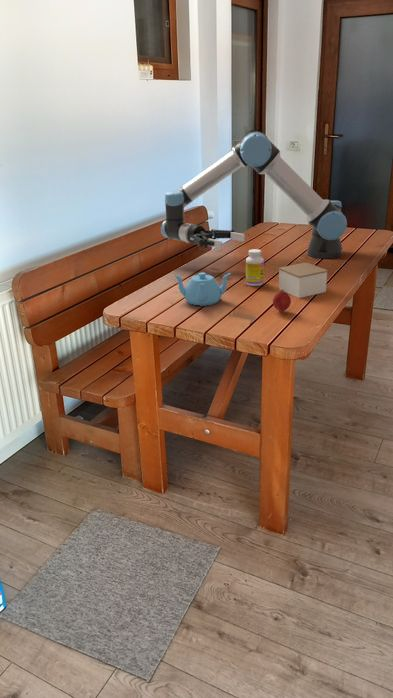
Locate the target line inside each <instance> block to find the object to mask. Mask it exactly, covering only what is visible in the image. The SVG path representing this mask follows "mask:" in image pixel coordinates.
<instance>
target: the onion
mask: <svg viewBox="0 0 393 698" xmlns="http://www.w3.org/2000/svg"><path fill="white" fill-rule="evenodd" d="M291 302H292V300H291V297H290V294H289V293H286V292H284V290H283V289H281V290H280V289H279V291H278V292H277V293H275V294H274V296H273V298H272V305H273V306H274V308H275V309H276V311H278V312H279V313H284V312H285V311H286V310H287V309H289V308H290V306H291Z"/></svg>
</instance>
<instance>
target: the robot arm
mask: <svg viewBox="0 0 393 698" xmlns="http://www.w3.org/2000/svg"><path fill="white" fill-rule="evenodd" d="M247 166H250V167H251V168H252V169H253V170H255V172H256V173H257V174H259V175H265V176H266V177H267V178H268V179H269V180H270V181H271V182H273V184H274V185H275V186H276V187H278V189H279V190H280V191H281V192H282V193H284V195H285V196H286V197H288V198H289V199H290V200H291V202H293V204H295V205H296V206H297V207H298V208H299V210H300V211H302V212H303V213H304V214H305V215H306V221H307V223H308V224H309V225H311V227H312V228H311V238H310V241H309V243H308V246H307V248H306V255H307V256H308V257H311V258H315V259H335V258H338V257H339V258H340V257H341V256H343V247H342V243H341V239H340V238H341V237H342V236H343V235H344V234H345V232H346V231H347V228H348V227H347V226H348V223H347V222H348V221H347V217H346V216H345V214H344V213H343V212H342V209H343V208H342V206H343V205H342V202H341V201H340V200H330V199H323V198H322V197H321V196H320V195H319V194H318V193H317V192H316V191H315V190H314V189H313V188H312V187H311V186H310V185H309V184H308V183H307V182H306V181H305V180H304V179H303V178H302V177H301V176H300V175H299V174H298V173H297V172H296V171H295V169H293V168H292V167H291V166H290V165H289V164H288V163H287V161H285V160H284V159H283V157H281V150H280V149H279V148H278V147H277V146H276V145H275V144H274V143H273V142H272V141H271V140H270V139H269V138H268V136H267V135H266V134H265V133H263V132H261V131H258V130H253V131H250V132H248V133H247V134H245V136H243V138H241V139H240V141H238V142H237V143H236V144H235V145H234V146H232V149H231V151H229V152H228V153H227V154H226V155H223V156H222V157H221V158H220V159H218V160H217V161H215V162H214V163H212V165H210V166H209V167H207V168H205V169H204V170H203V171H201V172H200V173H199V174H197V175H196V176H194V178H192V179H191V180H190V181H188V182H187V183H185V184H184V185H182V186H181V187H179V188H178V189H177V190H169V191H167V192H166V193H165V195H164V196H165V197H164V202H165V203H164V205H165V220H163V222H162V223H161V227H160V232H161V235H162V236H163V237H164V238H167V239H170V240H175V241H181V242H186V244H189V243H191V244H193V245H194V244H195V245H197V246H199V247H204V249H207V248H208V247H211V248H217V249H223V240H218V239H230V240H234V241H238V242H245V239H246V237H245V236H246V234H245V233H239V232H235V230H233V229H231V230H227V229H226V230H225V229H213V228H212V229H210V230H209V229H205V227H204V226H202V225H201V224H194V223H187V222H185V207H187V206H188V205H189V204H191V203H192V202H194V201H195V200H197V199H198V198H199V197H201V196H202V195H203V194H205V193H206V192H207V191H209V190H211V189H212V188H214V187H216V186H217V185H218V184H219V183H221V182H222V181H224V180H225V179H226V178H228V177H229V176H230V175H232V174H233V173H235V172H237V171H238V170H240V168H246V167H247Z"/></svg>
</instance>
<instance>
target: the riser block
mask: <svg viewBox="0 0 393 698" xmlns="http://www.w3.org/2000/svg"><path fill="white" fill-rule="evenodd" d="M328 272H329V270H328V269H325V268H322V267H319V266H317V265H315V264H311V263H309V262H302V263H297V264H291V265H286V266H280V267H278V290H279V291H280V290H281V289H283V290H284V292H286V293H287V294H288V295H291V296H293V297H295V298H298V299H300V298H306V297H309V296H313V295H318V294H322V293H326V292H327V282H328V281H327V280H328V278H327V277H328Z"/></svg>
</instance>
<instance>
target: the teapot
mask: <svg viewBox="0 0 393 698" xmlns="http://www.w3.org/2000/svg"><path fill="white" fill-rule="evenodd" d="M231 274H232V272H228V273H226V274H224V275H223V277H222V283H221V284H220V285H219V283H218V282H217V280H216V279H215V277H214V276H212V275H211V274H207V273H206V272H204V271H202V272H199V273H198V274H197V275H193V276H192V277H191V278H190V279H189V281H188V282H187V284H186V286H185V285H184V284H183V279H182V278H183V277H181V276H180V275H177V274H173V276H174V277H175V278H176V279H177V282H178V290H179V293H180V294H181V296H184V300H185V301H186V302H187V303H188V304H190V305H192V304H193V305H192V306H195V305H200V306H199V307H207V305H208V306H212V305H215V304H217V303H218V302H219V301H220V300H221V298H222V296H223V295H224V294H225V293H226V291H227V286H228V285H227V284H228V283H227V280H228V277H229V276H230V275H231Z"/></svg>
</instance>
